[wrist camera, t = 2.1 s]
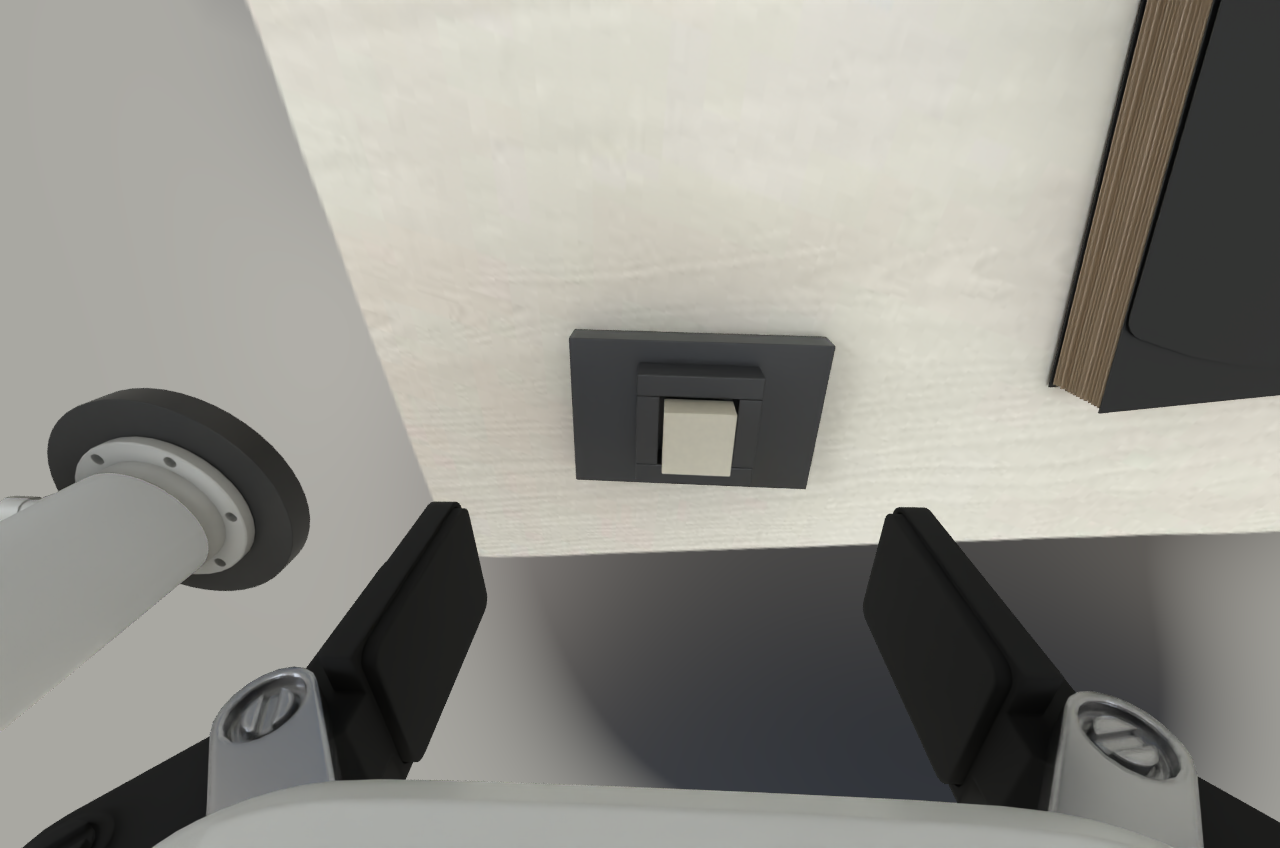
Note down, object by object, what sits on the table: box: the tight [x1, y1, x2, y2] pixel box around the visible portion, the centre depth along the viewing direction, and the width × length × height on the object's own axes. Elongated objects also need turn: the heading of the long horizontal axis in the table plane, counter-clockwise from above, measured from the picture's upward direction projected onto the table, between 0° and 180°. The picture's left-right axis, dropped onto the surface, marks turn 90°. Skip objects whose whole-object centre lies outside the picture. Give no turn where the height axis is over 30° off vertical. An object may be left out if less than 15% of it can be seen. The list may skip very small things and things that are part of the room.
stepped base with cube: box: [569, 329, 835, 489], centre depth 27 cm, size 14×9×4 cm, turn 89°
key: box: [662, 399, 737, 476], centre depth 25 cm, size 4×4×2 cm
